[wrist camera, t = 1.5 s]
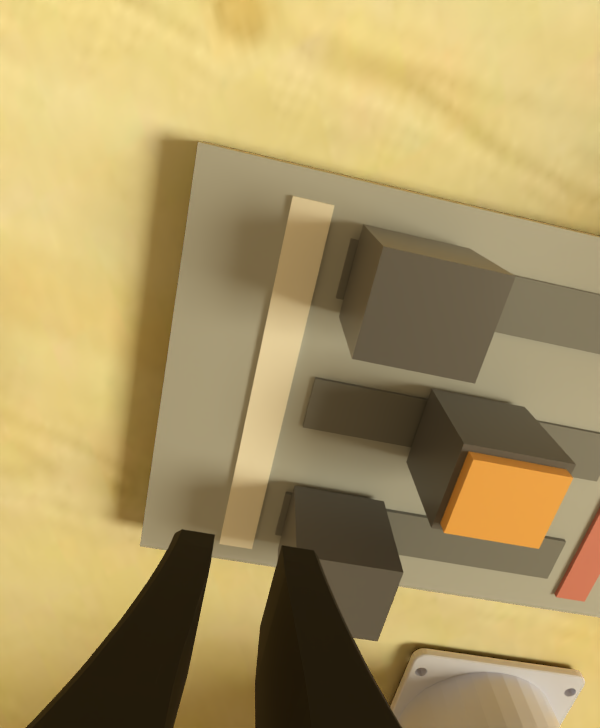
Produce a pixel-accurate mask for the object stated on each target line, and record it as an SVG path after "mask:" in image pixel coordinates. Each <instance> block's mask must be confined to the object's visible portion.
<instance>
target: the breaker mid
mask: <svg viewBox="0 0 600 728" xmlns="http://www.w3.org/2000/svg"><path fill="white" fill-rule="evenodd" d="M406 463H407V465H408V468H409V471H410V473H411V476H412V478H413V481H414V484H415V486H416V489H417V492H418V494H419V497H420V500H421V502H422V505H423V508H424V510H425V513H426V516H427V518H428V521H429V524H430V526H431V528H434V529H440V530H443V532H444V533H447V534H453V535H459V536H465V537H471V538H477V539H482V540H488V541H494V542H500V543H506V544H512V545H518V546H524V547H530V548H536V549H539V548H540V546H541V544H542V542H543V540H544V537H545V535H546V533H547V531H548V529H549V527H550V525H551V523H552V521H553V519H554V517H555V515H556V513H557V511H558V509H559V507H560V505H561V503H562V501H563V499H564V496H565V494H566V492H567V490H568V488H569V486H570V484H571V482H572V480H573V477H572V475H571V474H572V472H573V470H574V468H575V466H576V464H575V463H574V462H573V460H572V459H571V458H570V457H569V456H568V455H567V454H566V453H565V451H564V450H563V449H562V448H561V447H560V446H559V445H558V444H557V442H556V441H555V440H554V439H553V438H552V437H551V436H550V435H549V434H548V432H547V431H546V430H545V429H544V428H543V427H542V426H541V425H540V423H539V422H538V421H537V420H536V419H535V418H534V417H533V416H532V414H531V413H530V412H529V411H528V410H527V409H526V408H525V407H523V406H518V405H513V404H507V403H502V402H497V401H492V400H487V399H482V398H477V397H472V396H467V395H462V394H457V393H452V392H447V391H442V390H437V389H431V392H430V395H429V398H428V401H427V403H426V406H425V409H424V412H423V415H422V418H421V421H420V424H419V427H418V429H417V432H416V435H415V438H414V441H413V444H412V447H411V450H410V452H409V455H408V458H407V461H406Z"/></svg>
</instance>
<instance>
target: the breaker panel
mask: <svg viewBox="0 0 600 728" xmlns="http://www.w3.org/2000/svg"><path fill="white" fill-rule="evenodd" d="M363 224H365V225H369V226H374V227H378V228H383V229H387V230H391V231H396V232H400V233H404V234H409V235H413V236H417V237H422V238H426V239H431V240H435V241H439V242H444V243H448V244H452V245H457V246H461V247H466V248H470V249H472V250H473V251H475V252H476V253H478V254H480V255H481V256H483V257H485V258H486V259H488V260H490V261H491V262H493V263H495V264H496V265H498V266H500V267H501V268H503V269H505V270H506V271H508V272H510V273H511V274H513V275H515V276H516V277H515V280H514V282H513V285H512V288H511V290H510V293H509V295H508V298H507V301H506V303H505V306H504V309H503V311H502V314H501V317H500V319H499V322H498V324H497V327H496V330H495V332H494V335H493V338H492V340H491V343H490V346H489V348H488V351H487V354H486V356H485V359H484V361H483V364H482V367H481V369H480V372H479V375H478V377H477V380H476V383H475V384H474V383H469V382H464V381H459V380H454V379H449V378H444V377H439V376H434V375H429V374H424V373H419V372H414V371H409V370H404V369H399V368H394V367H389V366H384V365H379V364H374V363H369V362H365V361H360V360H355V359H352V358H351V354H350V351H349V348H348V345H347V341H346V338H345V335H344V332H343V328H342V325H341V322H340V319H339V314H340V311H341V307H342V303H343V299H344V295H345V292H346V288H347V284H348V280H349V276H350V272H351V269H352V265H353V261H354V257H355V253H356V250H357V246H358V242H359V238H360V234H361V231H362V227H363ZM431 389H437V390H442V391H447V392H452V393H457V394H462V395H467V396H472V397H477V398H482V399H487V400H492V401H497V402H502V403H507V404H513V405H518V406H523V407H525V408H526V409H527V410H528V411H529V412H530V413H531V414H532V416H533V417H534V418H535V419H536V420H537V421H538V422H539V423H540V425H541V426H542V427H543V428H544V429H545V430H546V431H547V432H548V434H549V435H550V436H551V437H552V438H553V439H554V440H555V441H556V442H557V444H558V445H559V446H560V447H561V448H562V449H563V450H564V451H565V453H566V454H567V455H568V456H569V457H570V458H571V459H572V460H573V462H574V463H575V464H576V466H575V468H574V470H573V472H572V474H571V475H572V477H573V480H572V482H571V484H570V486H569V488H568V490H567V492H566V494H565V496H564V499H563V501H562V503H561V505H560V507H559V509H558V511H557V513H556V515H555V517H554V519H553V521H552V523H551V525H550V527H549V529H548V531H547V533H546V535H545V537H544V540H543V542H542V544H541V546H540V548H539V549H536V548H530V547H524V546H518V545H512V544H506V543H500V542H494V541H488V540H482V539H477V538H471V537H465V536H459V535H453V534H447V533H444V532H443V530H440V529H434V528H431V526H430V524H429V521H428V518H427V516H426V513H425V510H424V508H423V505H422V502H421V500H420V497H419V494H418V492H417V489H416V486H415V484H414V481H413V478H412V476H411V473H410V471H409V468H408V465H407V463H406V461H407V458H408V455H409V452H410V450H411V447H412V444H413V441H414V438H415V435H416V432H417V429H418V427H419V424H420V421H421V418H422V415H423V412H424V409H425V406H426V403H427V401H428V398H429V395H430V392H431ZM294 486H299V487H305V488H311V489H316V490H322V491H328V492H334V493H340V494H345V495H351V496H357V497H363V498H369V499H374V500H380V501H384V503H385V507H386V511H387V514H388V518H389V522H390V525H391V529H392V532H393V536H394V540H395V543H396V547H397V551H398V554H399V558H400V561H401V565H402V569H403V572H404V573H403V575H402V578H401V581H400V583H399V586H400V587H406V588H413V589H419V590H426V591H432V592H439V593H445V594H452V595H458V596H464V597H471V598H477V599H484V600H490V601H497V602H503V603H510V604H516V605H522V606H529V607H535V608H542V609H548V610H555V611H561V612H568V613H574V614H581V615H587V616H593V617H600V236H598V235H594V234H590V233H586V232H581V231H577V230H573V229H569V228H565V227H561V226H556V225H552V224H548V223H544V222H540V221H535V220H531V219H527V218H523V217H519V216H514V215H510V214H506V213H502V212H498V211H493V210H489V209H485V208H481V207H477V206H472V205H468V204H464V203H460V202H456V201H451V200H447V199H443V198H439V197H435V196H430V195H426V194H422V193H418V192H414V191H409V190H405V189H401V188H397V187H393V186H388V185H384V184H380V183H376V182H372V181H367V180H363V179H359V178H355V177H351V176H346V175H342V174H338V173H334V172H330V171H325V170H321V169H317V168H313V167H309V166H304V165H300V164H296V163H292V162H288V161H283V160H279V159H275V158H271V157H267V156H262V155H258V154H254V153H250V152H246V151H241V150H237V149H233V148H229V147H225V146H220V145H216V144H212V143H208V142H198V146H197V153H196V160H195V167H194V174H193V181H192V188H191V194H190V201H189V208H188V215H187V222H186V229H185V236H184V243H183V250H182V257H181V264H180V271H179V278H178V285H177V292H176V299H175V306H174V313H173V320H172V327H171V334H170V341H169V348H168V355H167V362H166V369H165V376H164V382H163V389H162V396H161V403H160V410H159V417H158V424H157V431H156V438H155V445H154V452H153V459H152V466H151V473H150V480H149V487H148V494H147V501H146V508H145V515H144V522H143V529H142V536H141V543H140V546H142V547H148V548H155V549H161V550H167V549H168V547H169V545H170V543H171V541H172V538H173V536H174V534H175V533H176V532H178V531H180V530H181V529H184V530H190V531H196V532H202V533H209V534H215V538H214V544H213V551H212V557H213V558H219V559H226V560H232V561H239V562H245V563H252V564H258V565H264V566H271V567H276V565H277V561H278V547H279V543H280V539H281V535H282V531H283V528H284V524H285V520H286V516H287V512H288V508H289V505H290V501H291V497H292V493H293V489H294Z"/></svg>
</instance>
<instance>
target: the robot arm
mask: <svg viewBox="0 0 600 728" xmlns="http://www.w3.org/2000/svg"><path fill="white" fill-rule="evenodd" d="M214 538H215V534H209V533H202V532H196V531H190V530H184V529H181V530H180V531H178V532H176V533H175V534H174V536H173V538H172V541H171V543H170V545H169V547H168V549H167V551H166V553H165V554H164V556H163V558H162V560H161V561H160V563H159V565H158V566H157V568H156V569H155V571H154V573H153V574H152V576H151V577H150V579H149V580H148V582H147V583H146V585H145V586H144V588H143V589H142V591H141V592H140V593H139V595H138V596H137V598H136V599H135V600H134V602H133V603H132V605H131V606H130V607H129V609H128V610H127V611H126V613H125V614H124V616H123V617H122V618H121V620H120V621H119V622H118V624H117V625H116V626H115V627H114V629H113V630H112V631H111V632H110V633H109V635H108V636H107V637H106V638H105V640H104V641H103V642H102V643H101V645H100V646H99V647H98V648H97V649H96V651H95V652H94V653H93V654H92V656H91V657H90V658H89V659H88V661H87V662H86V663H85V664H84V665H83V666H82V667H81V669H80V670H79V671H78V672H77V673H76V674H75V675H74V677H73V678H72V679H71V680H70V681H69V682H68V683H67V684H66V686H65V687H64V688H63V689H62V690H61V691H60V692H59V693H58V694H57V695H56V697H55V698H54V699H53V700H52V701H51V702H50V703H49V704H48V705H47V706H46V707H45V708H44V709H43V710H42V711H41V712H40V714H39V715H38V716H37V717H36V718H35V719H34V720H33V721H32V722H31V723H30V724H29V725H28V726H27V727H26V728H173V726H174V722H175V719H176V715H177V711H178V708H179V704H180V700H181V697H182V693H183V689H184V686H185V682H186V678H187V674H188V670H189V665H190V660H191V655H192V650H193V645H194V641H195V636H196V631H197V626H198V621H199V616H200V612H201V607H202V602H203V597H204V592H205V588H206V583H207V578H208V573H209V568H210V563H211V557H212V551H213V544H214ZM584 684H585V679H584V677H583V676H582V674H581V673H580V672H579V671H577V670H574V669H567V668H560V667H553V666H546V665H539V664H532V663H525V662H518V661H511V660H504V659H497V658H490V657H483V656H476V655H469V654H462V653H455V652H448V651H441V650H434V649H427V648H421V649H418V650H416V651H415V652H414V653H413V654H412V656H411V658H410V660H409V663H408V665H407V668H406V670H405V672H404V675H403V677H402V680H401V682H400V684H399V687H398V689H397V692H396V694H395V696H394V699H393V701H392V704H391V706H389V705H388V703H387V701H386V699H385V697H384V696H383V694H382V692H381V690H380V689H379V687H378V685H377V683H376V681H375V680H374V678H373V676H372V674H371V672H370V670H369V668H368V666H367V665H366V663H365V661H364V659H363V657H362V655H361V653H360V651H359V649H358V647H357V645H356V643H355V641H354V639H353V637H352V635H351V633H350V631H349V629H348V626H347V624H346V622H345V620H344V618H343V616H342V613H341V611H340V609H339V607H338V604H337V602H336V600H335V598H334V595H333V593H332V591H331V588H330V586H329V583H328V581H327V578H326V576H325V573H324V571H323V568H322V566H321V563H320V560H319V557H318V555H317V554H316V553H315V551H314V550H309V549H303V548H296V547H290V546H284V545H282V546H281V550H280V554H279V558H278V561H277V565H276V569H275V573H274V576H273V580H272V584H271V588H270V592H269V595H268V599H267V603H266V607H265V610H264V614H263V618H262V622H261V625H260V635H259V645H258V656H257V668H256V680H255V728H561V726H560V725H561V723H562V722H563V720H564V718H565V717H566V715H567V713H568V712H569V710H570V708H571V707H572V705H573V703H574V702H575V700H576V698H577V697H578V695H579V693H580V692H581V690H582V688H583V687H584Z"/></svg>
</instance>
